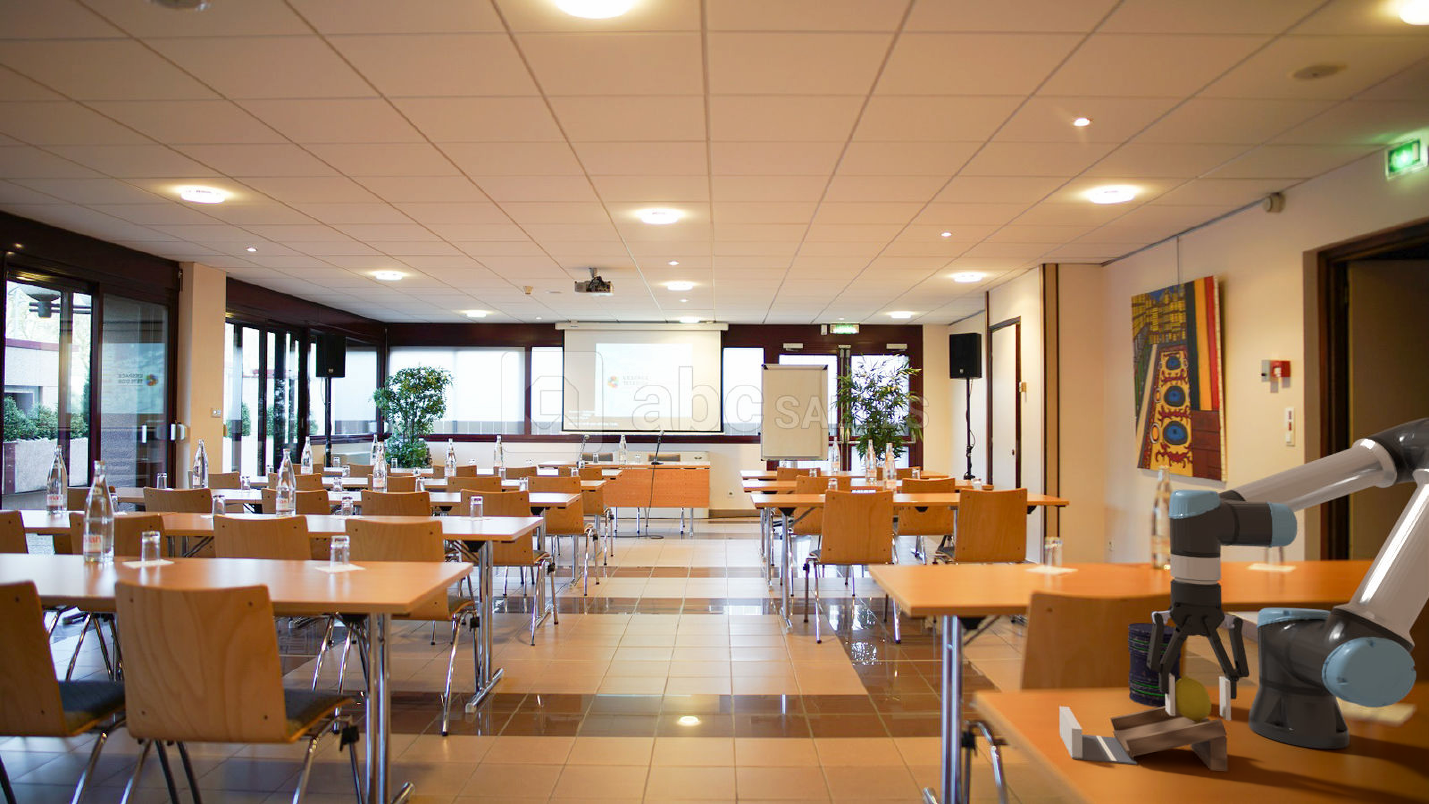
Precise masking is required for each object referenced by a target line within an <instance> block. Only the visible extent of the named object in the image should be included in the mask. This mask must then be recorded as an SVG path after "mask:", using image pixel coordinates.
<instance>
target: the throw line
mask: <svg viewBox="0 0 1429 804" xmlns="http://www.w3.org/2000/svg"><path fill="white" fill-rule="evenodd" d="M1095 736H1096V737H1097V739H1098V740H1099V742H1100V743H1101V745H1102V746H1103V748H1104V750H1105V751H1106V753H1107V754H1108V756H1109V757H1110V759H1111V761H1116V759H1115V757H1114V756H1113V754H1112V753H1111V751H1110V750H1109V748H1108V747H1107V745H1106V744H1105V742H1104V741H1103V739H1102V737H1101V736H1102V735H1095ZM1111 763H1113V762H1111ZM1115 764H1117V763H1116V762H1115Z"/></svg>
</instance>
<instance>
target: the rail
mask: <svg viewBox="0 0 1429 804" xmlns="http://www.w3.org/2000/svg"><path fill="white" fill-rule="evenodd" d="M1082 735H1083V728H1082V726H1081V725H1080V724H1079V721H1078V720H1077V718H1076V717H1075V715H1074V713H1073V711H1072V710H1071V709H1070V707H1069V706H1061V705H1059V736H1060V737H1061V736H1062V737H1061V740H1062V741H1063V743H1064V745H1065V748H1066V749H1067V751H1068V753H1069V756H1070V757H1071V759H1072V758H1074V759H1073V760H1082V759H1081V758H1082ZM1077 757H1078V758H1079V759H1078V758H1077ZM1075 758H1076V759H1075ZM1082 761H1083V760H1082Z"/></svg>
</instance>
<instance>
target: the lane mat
mask: <svg viewBox="0 0 1429 804" xmlns="http://www.w3.org/2000/svg"><path fill="white" fill-rule="evenodd" d="M1096 736H1097V735H1092V734H1091V735H1090V734H1082V758H1081V759H1082V761H1083V760H1084V761H1091V762H1092V761H1093V762H1094V761H1095V762H1104V763H1112V762H1113V763H1115V762H1116V763H1115V764H1124V765H1135V766H1138V763H1137V761H1136V759H1135V758H1134V756H1132V757H1129V756H1128V755H1127V754H1126V752H1125V751H1124V749H1123V748H1122V746H1121V745H1120V743H1119V742H1118V741H1117V739H1116V738H1115V736H1113V737H1112V736H1102V735H1100V736H1101V737H1102V739H1103V741H1104V742H1105V744H1106V745H1107V747H1108V748H1109V750H1110V751H1111V753H1112V754H1113V756H1114V757H1115V759H1116V761H1111V759H1110V757H1109V756H1108V754H1107V753H1106V751H1105V750H1104V748H1103V746H1102V745H1101V743H1100V742H1099V740H1098V739H1097V737H1096ZM1060 737H1062V736H1060ZM1077 758H1078V757H1077ZM1071 759H1073V760H1081V759H1079V758H1078V759H1076V758H1075V759H1074V758H1072V757H1071Z"/></svg>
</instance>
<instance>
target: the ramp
mask: <svg viewBox="0 0 1429 804" xmlns="http://www.w3.org/2000/svg"><path fill="white" fill-rule="evenodd" d="M1109 719H1110V722H1111V725H1112V728H1113V730H1112V733H1113V737H1115V738H1116V739H1117V741H1118V742H1119V743H1120V745H1121V746H1122V748H1123V749H1124V751H1125V752H1126V754H1127V755H1128V756H1129V757H1135V756H1141V755H1146V754H1149V753H1154V752H1161V751H1165V750H1170V749H1174V748H1178V747H1179V748H1180V747H1185V746H1188V745H1190V749H1191V750H1192V751H1193V752H1194V753H1195V754H1196V756H1197V757H1199V758H1200V760H1201V761H1202V762H1203V763H1204V764H1205V765H1206V766H1207V768H1208V769H1209V770H1211V771H1219V772H1228V738H1227V737H1226V736H1228V734H1227V731H1226V728H1225V725H1224V723H1223V720H1222V719H1221V718H1217V719H1212V720H1210V719H1209V718H1208V716H1207V717H1206V718H1205V719H1203V720H1202V721H1201V722H1200V723H1195V722H1194V721H1193V720H1190V719H1187V718H1185V717H1184V716H1183V715H1181V714H1180V713H1179V711H1178V710H1177V708H1176V706H1175V716H1170V715H1169V714H1168V712H1167V711H1166V706H1163V707H1153V708H1150V709H1145V710H1141V711H1135V712H1132V713H1128V714H1123V715H1117V716H1114V717H1110V718H1109Z"/></svg>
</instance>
